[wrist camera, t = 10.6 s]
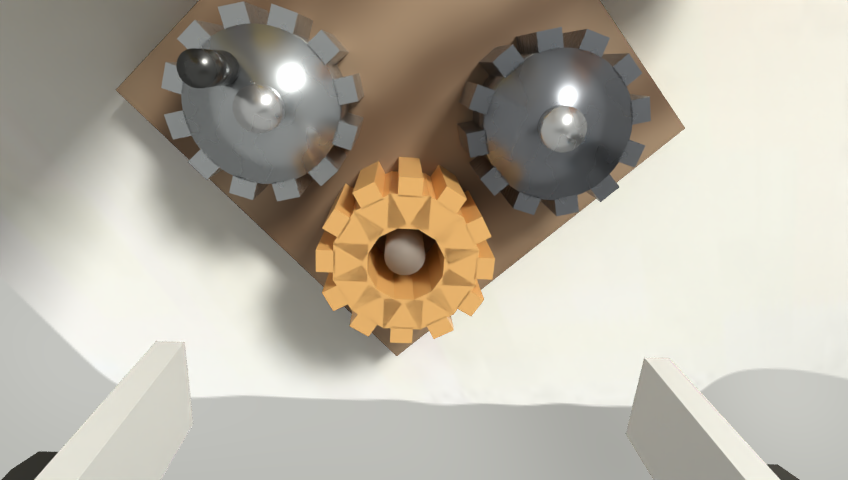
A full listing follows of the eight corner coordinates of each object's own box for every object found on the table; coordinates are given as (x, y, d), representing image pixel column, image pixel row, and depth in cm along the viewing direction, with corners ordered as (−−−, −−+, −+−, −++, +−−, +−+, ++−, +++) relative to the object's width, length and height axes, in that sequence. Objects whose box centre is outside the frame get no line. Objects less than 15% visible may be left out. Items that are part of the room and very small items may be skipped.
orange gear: (470, 301, 30) (484, 345, 25) (329, 295, 29) (315, 339, 25) (486, 162, 27) (504, 183, 23) (330, 152, 27) (315, 171, 22)
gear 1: (397, 108, 26) (397, 124, 20) (284, 212, 28) (248, 259, 21) (278, -29, 24) (232, -64, 17) (162, 93, 25) (78, 104, 19)
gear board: (666, 123, 29) (731, 138, 23) (396, 339, 33) (396, 396, 27) (429, -225, 23) (439, -318, 17) (135, 88, 27) (65, 95, 21)
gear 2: (644, 125, 27) (694, 138, 22) (521, 224, 29) (544, 255, 24) (553, -6, 25) (588, -21, 20) (424, 110, 26) (430, 120, 22)
